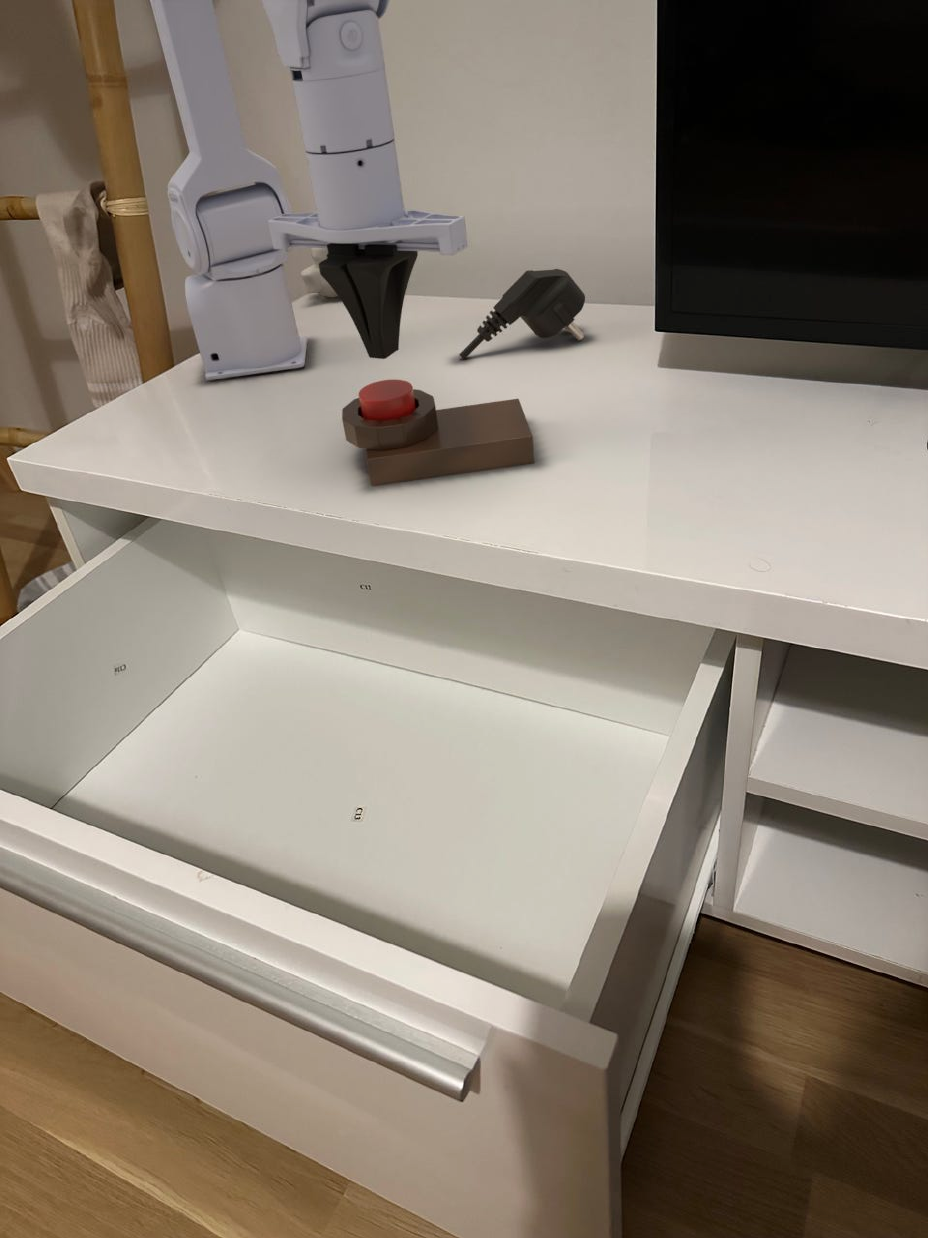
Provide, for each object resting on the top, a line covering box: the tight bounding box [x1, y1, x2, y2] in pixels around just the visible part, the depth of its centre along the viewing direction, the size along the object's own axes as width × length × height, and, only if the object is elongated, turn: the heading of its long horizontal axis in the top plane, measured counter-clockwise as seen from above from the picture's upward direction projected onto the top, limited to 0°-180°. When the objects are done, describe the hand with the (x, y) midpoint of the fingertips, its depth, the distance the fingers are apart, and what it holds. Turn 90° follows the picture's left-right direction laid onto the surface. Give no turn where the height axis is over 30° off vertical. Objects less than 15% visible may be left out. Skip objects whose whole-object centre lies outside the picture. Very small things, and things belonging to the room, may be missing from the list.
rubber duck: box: [300, 247, 339, 298], centre depth 103 cm, size 5×7×8 cm
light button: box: [358, 379, 416, 421], centre depth 68 cm, size 4×4×2 cm
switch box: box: [341, 388, 535, 487], centre depth 69 cm, size 13×8×4 cm, turn 96°
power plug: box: [458, 268, 586, 361], centre depth 86 cm, size 6×8×12 cm
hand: (384, 353), depth 66 cm, fingers closed
